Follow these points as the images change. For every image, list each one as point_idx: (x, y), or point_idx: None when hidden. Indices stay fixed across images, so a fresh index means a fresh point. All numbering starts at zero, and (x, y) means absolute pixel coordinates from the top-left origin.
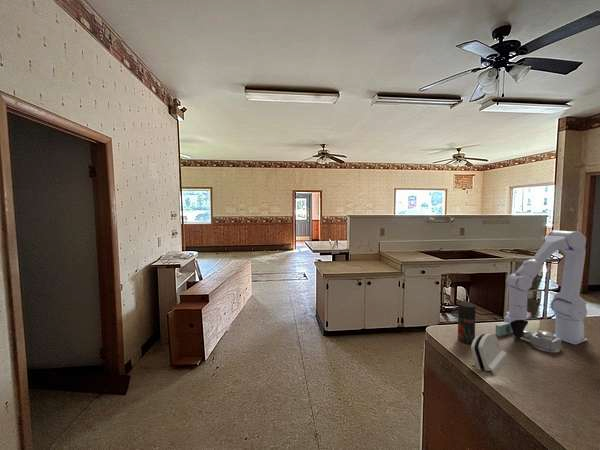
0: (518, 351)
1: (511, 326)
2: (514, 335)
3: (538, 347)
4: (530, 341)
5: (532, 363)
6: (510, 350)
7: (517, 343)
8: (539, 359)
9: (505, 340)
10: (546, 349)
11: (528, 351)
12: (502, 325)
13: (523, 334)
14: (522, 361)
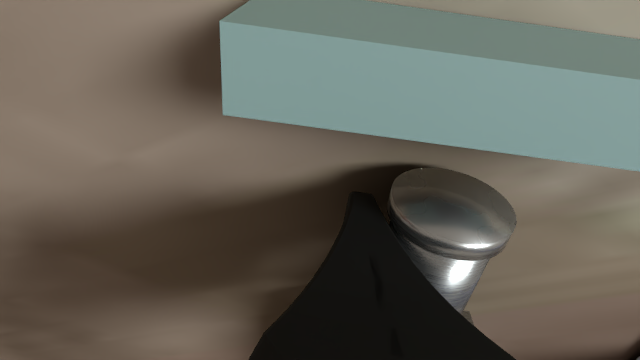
0: (114, 267)
1: (314, 277)
2: (349, 203)
3: None
4: None
5: (52, 340)
6: (62, 234)
7: (263, 221)
8: (144, 347)
9: (223, 136)
10: None
11: (190, 298)
12: (322, 126)
13: None
14: (8, 312)
